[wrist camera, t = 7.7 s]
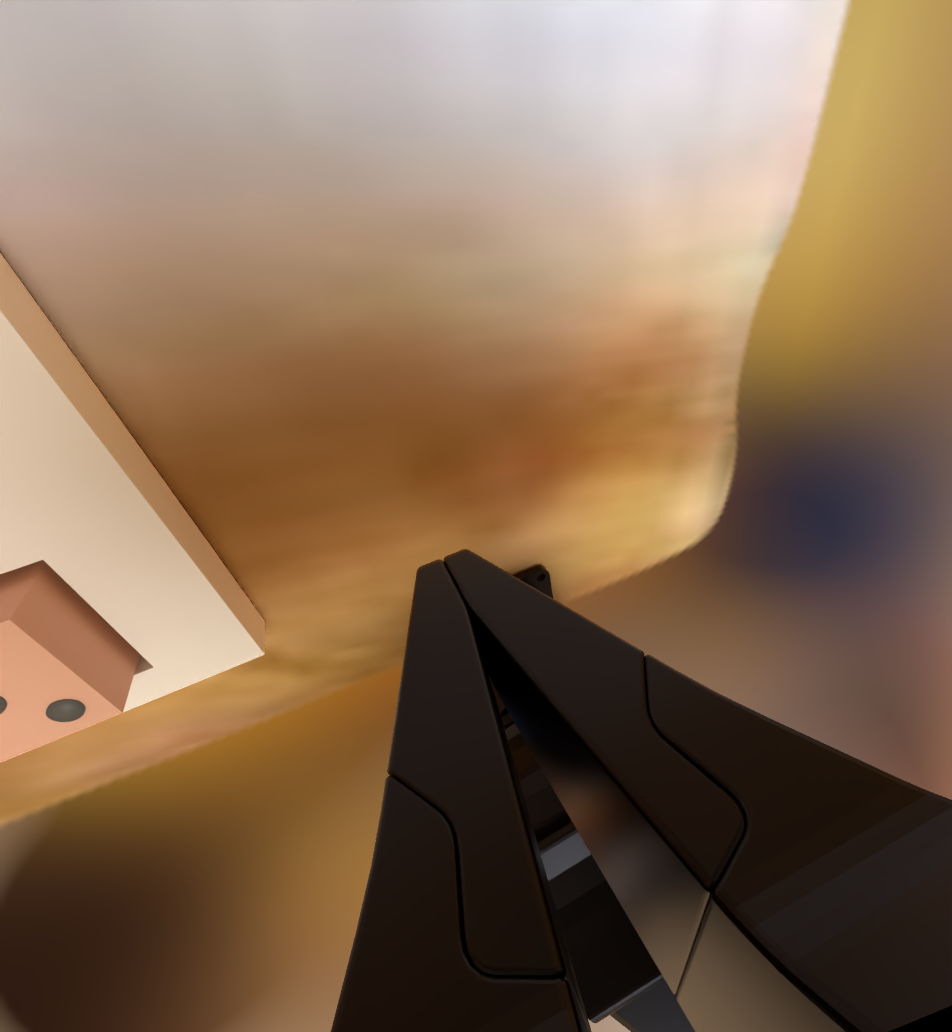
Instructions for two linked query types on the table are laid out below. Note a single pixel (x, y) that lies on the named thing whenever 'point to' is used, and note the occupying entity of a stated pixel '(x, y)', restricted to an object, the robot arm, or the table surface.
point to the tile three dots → (55, 661)
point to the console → (107, 514)
